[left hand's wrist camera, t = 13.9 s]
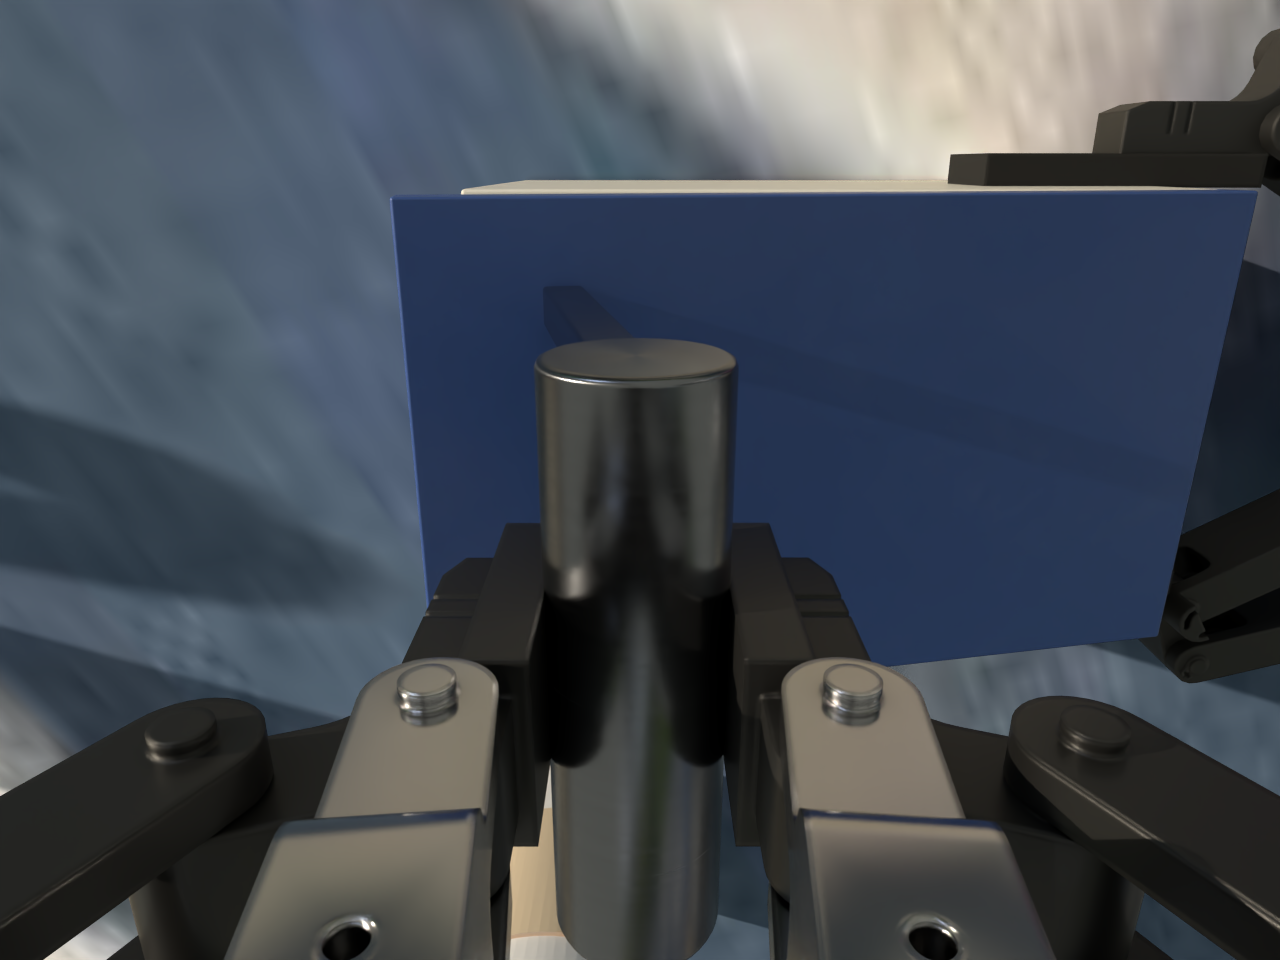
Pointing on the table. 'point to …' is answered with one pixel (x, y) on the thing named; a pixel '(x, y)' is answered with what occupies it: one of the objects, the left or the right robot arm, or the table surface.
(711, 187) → the chest
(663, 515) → the lid
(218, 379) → the table surface
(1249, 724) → the table surface
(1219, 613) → the right robot arm
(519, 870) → the coffee cup
